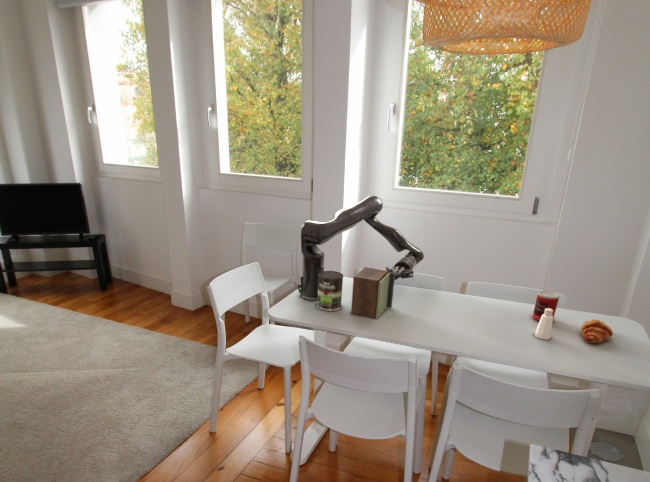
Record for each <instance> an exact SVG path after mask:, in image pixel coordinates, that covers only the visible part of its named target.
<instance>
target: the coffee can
mask: <svg viewBox="0 0 650 482" xmlns="http://www.w3.org/2000/svg"><path fill="white" fill-rule="evenodd" d="M343 282H344V274H343V273H342V272H339V271H336V270H324V271H323V272H320V273H319V274H318V300H317V304H316V307H317V308H318V309H319V310H322V311H325V312H326V311H327V312H335V311H339V310H340V309H341V308H342V301H343V300H342V299H343V298H342V297H343Z"/></svg>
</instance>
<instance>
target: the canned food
mask: <svg viewBox="0 0 650 482" xmlns="http://www.w3.org/2000/svg"><path fill="white" fill-rule="evenodd" d="M559 299H560V294H558V293H557V292H554V291H551V290H540V291H538V293H537V296H536V300H535V304H534V309H533V314H532V318H533V320H534V321H536V322H538V323H539V321H540V319H541V316H542V315H543V314H544V312H545V309H546V308H550V309H552V310H553V312H552V316H553V320H554V318H555V315H556V311H557V307H558V303H559Z"/></svg>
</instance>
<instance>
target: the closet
mask: <svg viewBox="0 0 650 482" xmlns="http://www.w3.org/2000/svg"><path fill="white" fill-rule="evenodd" d="M387 274H388V271H386V269H378V268H373V267H372V268H371V267H363V268H362V269H361V270H360V271H358V272H357V273H356V274H355V275H354V276H353V277H352V278H353V279H352V281H353V282H352V296H351V307H350V308H351V310H350V315H353V316H354V315H355V316H360V317H364V318H369V319H373V320H374V319H377V318H376V308H377V297H378V286H379V282H380V281H381V280H382V279H383V278H384V277H385V276H386V275H387Z"/></svg>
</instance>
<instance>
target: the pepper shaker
mask: <svg viewBox="0 0 650 482" xmlns="http://www.w3.org/2000/svg"><path fill="white" fill-rule="evenodd" d="M552 312H553V310H552V309H550V308H546V309H545V312H544V314H543V315H542V316H541V319H540V321H539V322H538V324H537V327H536V329H535V332H534V336H535V337H536V338H538V339H540V340H546V341H547V340H549V339H551V336H552V329H553V320H554V319H553V316H552Z"/></svg>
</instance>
